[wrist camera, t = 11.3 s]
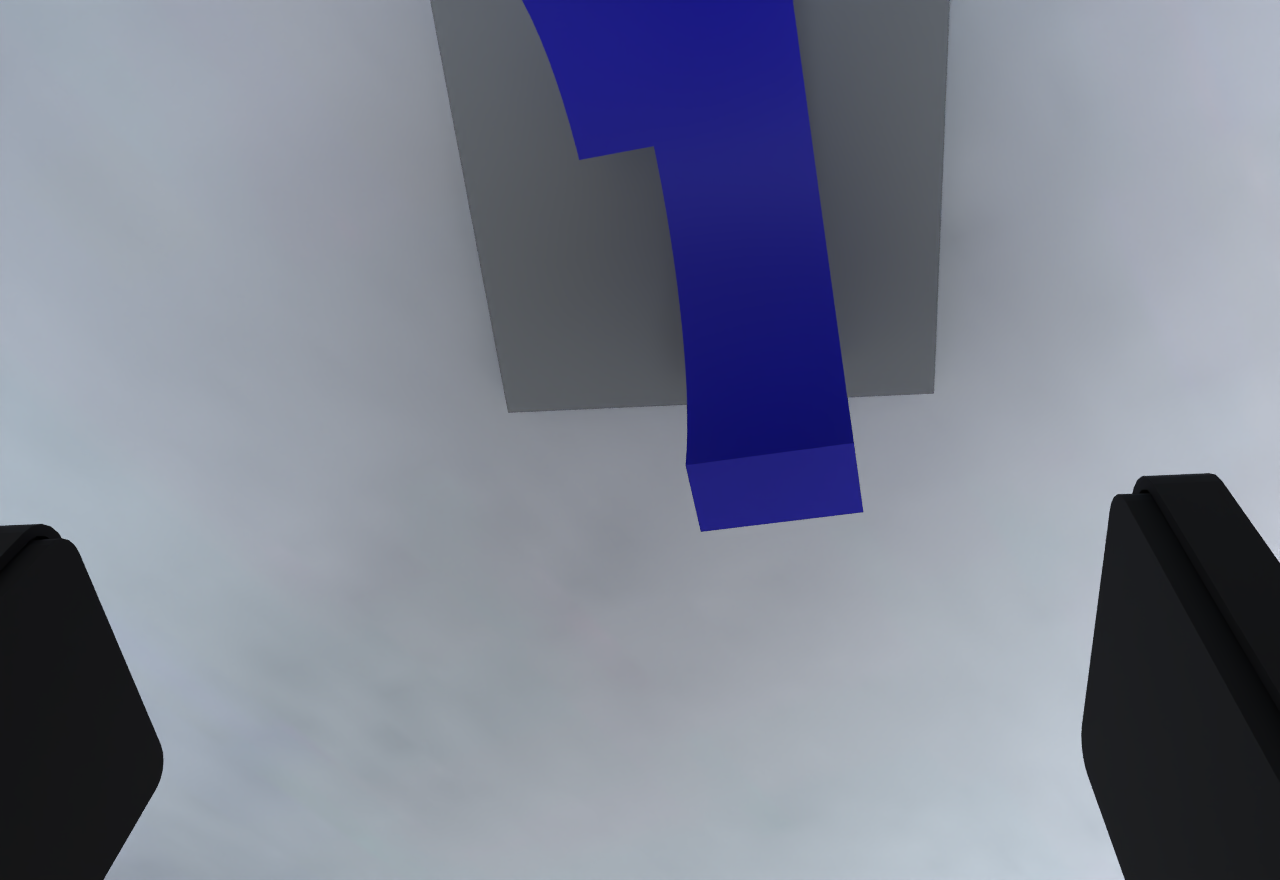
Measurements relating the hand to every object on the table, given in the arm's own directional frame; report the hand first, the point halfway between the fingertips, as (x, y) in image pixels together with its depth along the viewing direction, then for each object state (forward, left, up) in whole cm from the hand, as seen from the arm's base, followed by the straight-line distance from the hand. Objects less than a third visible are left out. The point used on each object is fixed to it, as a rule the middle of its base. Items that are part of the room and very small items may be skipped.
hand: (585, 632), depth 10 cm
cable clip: (0, 0, -15) cm, 15 cm away
